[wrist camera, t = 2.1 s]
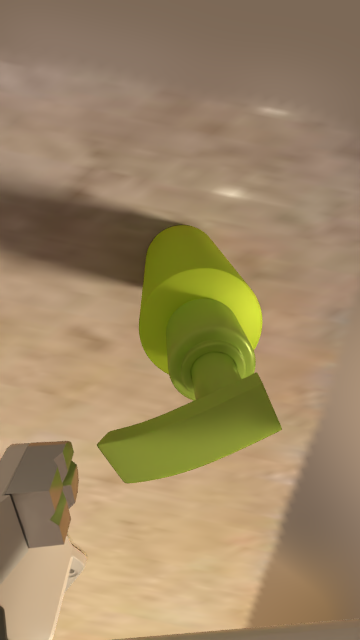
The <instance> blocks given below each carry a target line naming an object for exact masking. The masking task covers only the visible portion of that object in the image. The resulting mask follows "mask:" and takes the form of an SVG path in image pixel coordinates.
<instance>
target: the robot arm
mask: <svg viewBox="0 0 360 640" xmlns="http://www.w3.org/2000/svg"><path fill="white" fill-rule="evenodd" d="M73 453H74V451H73V448H72V444H71V442H69V441H58V442H36V443H24V444H12V445H10V446H9V447H8V448H7V449H6V451H5V453H4V455H3V457H2V458H1V460H0V640H52V638H53V635H54V632H55V628H56V624H57V620H58V616H59V612H60V608H61V604H62V600H63V596H64V593H65V592H66V591H67V589H68V588H69V587H70V586H71V585H72V583H73V582H74V581H75V580H76V579H77V577H78V576H79V575H80V574H81V573H82V571H83V570H84V568H85V565H86V561H87V557H86V556H85V555H84V554H83V553H82V552H81V551H79V550H78V549H77V548H75V547H74V546H73V545H72V544H71V543H70V541H69V539H68V537H67V532H68V528H69V524H70V521H71V517H70V513H69V508H70V507H71V506H72V505H73V504H74V503H75V501H76V497H77V493H78V482H79V478H78V469H77V465H76V464H75V463H74V462H73V461H71V460H72V456H73ZM114 640H360V619H348V620H337V621H325V622H313V623H302V624H291V625H278V626H267V627H255V628H243V629H232V630H220V631H208V632H197V633H185V634H173V635H161V636H150V637H138V638H126V639H114Z"/></svg>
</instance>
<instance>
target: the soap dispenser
mask: <svg viewBox="0 0 360 640" xmlns="http://www.w3.org/2000/svg"><path fill="white" fill-rule="evenodd" d="M261 330H262V313H261V308H260V305H259V302H258V300H257V298H256V296H255V294H254V293H253V291H252V290H251V289H250V287H249V286H248V285H247V284H246V282H245V281H244V280H243V279H242V277H241V276H240V275H239V274H238V272H237V271H236V270H235V269H234V267H233V266H232V265H231V264H230V263H229V261H228V260H227V259H226V258H225V256H224V255H223V254H222V253H221V251H220V250H219V249H218V248H217V246H216V245H215V244H214V243H213V241H212V240H211V239H210V238H209V237H208V236H207V235H206V234H205V233H204V232H203V231H201V230H199V229H197V228H195V227H192V226H187V225H177V226H172V227H169V228H167V229H165V230H163V231H162V232H160V233H159V234H158V235H157V236H156V237H155V238H154V239H153V240H152V242H151V244H150V246H149V248H148V250H147V254H146V262H145V271H144V281H143V290H142V300H141V309H140V318H139V335H140V340H141V343H142V346H143V348H144V351H145V352H146V354H147V356H148V357H149V358H150V360H151V361H152V362H153V363H154V364H155V365H156V366H157V367H158V368H160V369H161V370H162V371H164V372H165V373H167V374H169V376H170V379H171V381H172V383H173V385H174V386H175V388H176V389H177V390H178V391H179V392H180V393H181V394H182V395H184V396H185V397H187V398H189V399H191V400H194V401H193V402H191V403H188V404H186V405H184V406H182V407H179V408H177V409H175V410H173V411H170V412H168V413H166V414H163V415H161V416H158V417H156V418H153V419H150V420H148V421H145V422H142V423H139V424H136V425H132V426H129V427H125V428H121V429H117V430H113V431H110V432H108V433H107V434H106V435H105V436H104V437H103V438H102V439H101V441H100V442H99V443H98V444H97V446H98V448H99V449H100V451H101V452H102V453H103V455H104V456H105V457H106V459H107V460H108V462H109V463H110V464H111V466H112V467H113V468H114V470H115V471H116V472H117V474H118V475H119V476H120V478H121V479H122V480H123V481H124V482H125V483H137V482H144V481H150V480H155V479H160V478H165V477H169V476H173V475H177V474H180V473H184V472H187V471H190V470H193V469H196V468H198V467H201V466H204V465H206V464H209V463H211V462H214V461H216V460H218V459H221V458H223V457H225V456H228V455H230V454H232V453H234V452H237V451H239V450H241V449H243V448H245V447H247V446H249V445H252V444H254V443H256V442H258V441H260V440H262V439H264V438H266V437H268V436H270V435H272V434H274V433H276V432H279V431H280V430H282V428H281V425H280V423H279V421H278V418H277V416H276V414H275V411H274V409H273V407H272V404H271V402H270V400H269V397H268V395H267V393H266V390H265V388H264V386H263V383H262V381H261V379H260V377H259V375H258V373H254V370H255V354H254V349H255V347H256V346H257V343H258V341H259V338H260V335H261Z"/></svg>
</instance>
